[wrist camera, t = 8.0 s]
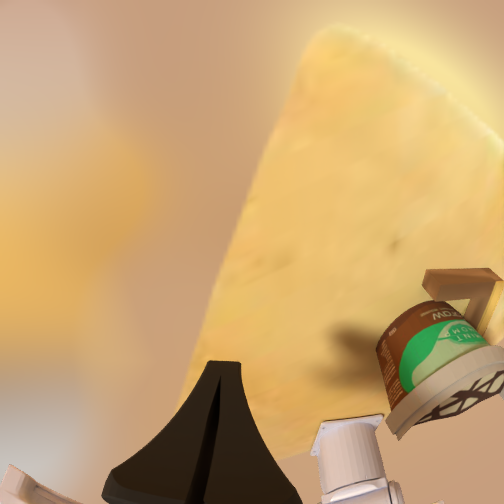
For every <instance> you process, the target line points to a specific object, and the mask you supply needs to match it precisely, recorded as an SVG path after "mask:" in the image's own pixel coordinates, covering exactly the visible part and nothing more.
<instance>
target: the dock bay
mask: <svg viewBox="0 0 504 504" xmlns="http://www.w3.org/2000/svg"><path fill="white" fill-rule="evenodd" d="M422 286H423V287H424V289H425V290H426V291H427V292H428V293H429V295H430V296H431V297H432V298H433V300H434V301H435V302H438V301H449V300H460V299H470V298H471V299H470V302H469V305H468V307H467V310H466V312H465V315H464V317H463V318H464V319H465V320H466V321H467V322H468V323H469V324H470V325H471V326H472V327H473V328H474V329H475V330H476V331H477V332H478V333H479V334H480V335H481V336H483V334H484V332H485V330H486V328H487V326H488V323H489V321H490V319H491V317H492V315H493V312H494V310H495V308H496V305H497V303H498V300H499V298H500V295H501V293H502V290H503V287H504V281H503V280H502V279H501V278H500V277H499V276H498V275H496V274H495V273H494V272H493V271H492V270H491V269H489V268H473V269H431V270H426V273H425V276H424V280H423V283H422Z"/></svg>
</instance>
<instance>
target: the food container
mask: <svg viewBox="0 0 504 504" xmlns="http://www.w3.org/2000/svg"><path fill="white" fill-rule="evenodd" d="M376 352H377V356H378V360H379V363H380V367H381V371H382V375H383V379H384V383H385V387H386V391H387V395H388V399H389V404H390V408H391V413H390V414H389V416H388V417H387V419H386V420H385V421H386V423H387V425H388V427H389V429H390V430H391V432H392V434H396V436H397V438H398V441H399V440H400V439H401V438H402V436H403V435H404V434H405V433H406V432H407V431H408V430H409V429H410V428H411V427H412V426H414V425H417V424H420V423H424V422H427V421H431V420H437V419H443V418H448V417H452V416H456V415H459V414H460V413H463V412H464V411H466V410H468V409H469V408H471V407H472V406H474V405H475V404H477V403H479V402H481V401H483V400H485V399H487V398H489V397H492V396H494V395H496V394H498V393H499V395H500V396H501V397H502V398H503V400H504V348H502V347H501V346H496V345H493V346H490V345H489V344H488V342H487V341H486V340H485V339H484V338H483V337H482V336H481V335H480V334H479V333H478V332H477V331H476V330H475V329H474V328H473V327H472V326H471V325H470V324H469V323H468V322H467V321H466V320H465V319H464V318H463V317H462V316H461V315H460V314H459V313H458V312H457V311H456V310H455V309H454V308H453V307H452V306H450V305H449V304H448V303H446V302H445V301H438V302H435V301H434V300H431V301H426V302H423V303H420V304H418V305H416V306H414V307H412V308H410V309H408V310H407V311H405V312H404V313H403V314H401V315H400V316H399V317H398V318H396V319H395V320H394V321H393V322H392V323H391V324H390V326H389V327H388V328H387V329H386V330H385V332H384V333H383V335H382V336H381V338H380V340H379V342H378V345H377V348H376Z"/></svg>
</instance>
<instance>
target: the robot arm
mask: <svg viewBox="0 0 504 504" xmlns="http://www.w3.org/2000/svg"><path fill="white" fill-rule="evenodd" d="M382 419H383V415H381V414H380V415H374V416H367V417H360V418H353V419H345V420H336V421H325V422H322V423H321V425H320V428H319V431H318V433H317V436H316V439H315V441H314V444H313V447H312V449H311V452H310V455H311V456H314V455H315V456H316V455H317V457H318V465H319V474H320V483H321V489H322V491H323V493H324V494H325V495H323V496H321V497H322V502H319V503H318V504H404V499H403V495H402V491H401V488H400V485H399V483H398V482H395V481H393V480H392V481H390V482H388V480H387V479H386V474H385V470H384V466H383V462H382V458H381V455H380V451H379V447H378V443H377V440H376V436H375V432H374V431H375V430H376V429H377V427H378V425H379V424H380V422H381V420H382ZM101 496H102V498H103V499H104V500H105V501H106V502H107V503H109V504H303V503H302V500H301V498H300V496H299V495H298V493H297V490H296V489H295V487H294V486H293V485H292V484H291V483H290V482H289V480H288V479H287V477H286V476H285V475H284V473H283V472H282V470H281V469H280V468H279V466H278V465H277V463H276V461H275V460H274V458H273V457H272V455H271V453H270V452H269V450H268V448H267V447H266V445H265V443H264V441H263V439H262V437H261V435H260V433H259V431H258V429H257V426H256V424H255V422H254V419H253V417H252V414H251V412H250V409H249V406H248V403H247V399H246V396H245V393H244V388H243V384H242V378H241V363H239V362H234V361H211V360H210V361H208V362H207V364H206V367H205V369H204V371H203V373H202V375H201V377H200V378H199V380H198V382H197V384H196V385H195V387H194V389H193V390H192V392H191V393H190V395H189V397H188V398H187V400H186V401H185V402H184V404H183V405H182V406H181V408H180V409H179V411H178V412H177V413H176V414H175V416H174V417H173V418H172V419H171V421H170V422H169V423H168V424H167V425H166V426H165V428H163V430H161V432H159V434H158V435H157V436H156V437H155V438H153V439H152V440H151V441H150V442H149V443H148V444H147V445H146V446H145V447H143V448H142V449H141V450H140V451H138V452H137V453H136V454H135V455H133V456H132V457H131V458H129V459H128V460H126V461H125V462H123V463H122V464H120V465H119V466H117V467H115V468H114V469H112V470H111V472H110V474H109V476H108V478H107V480H106V482H105V485H104V488H103V492H102V495H101ZM0 504H81V503H79V502H77V501H74V500H72V499H70V498H68V497H65V496H63V495H61V494H59V493H57V492H55V491H53V490H51V489H49V488H47V487H45V486H43V485H41V484H40V483H38V482H36V481H35V480H34V479H33V478H32V477H30V476H29V475H27V474H26V473H24V472H23V471H21V470H19V469H18V468H16V467H14V466H13V465H9V466H8V469H7V471H6V473H5V475H4V478H3V480H2V482H1V485H0ZM432 504H445V503H444V500H440V501H437V502H435V503H432Z"/></svg>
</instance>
